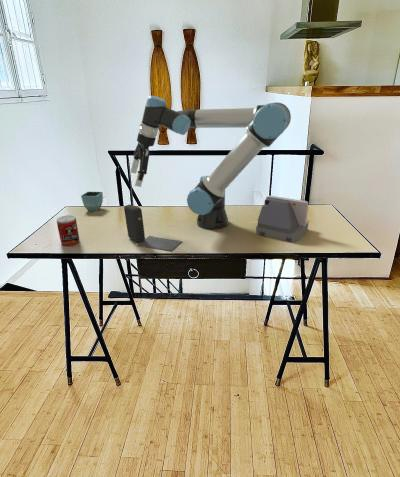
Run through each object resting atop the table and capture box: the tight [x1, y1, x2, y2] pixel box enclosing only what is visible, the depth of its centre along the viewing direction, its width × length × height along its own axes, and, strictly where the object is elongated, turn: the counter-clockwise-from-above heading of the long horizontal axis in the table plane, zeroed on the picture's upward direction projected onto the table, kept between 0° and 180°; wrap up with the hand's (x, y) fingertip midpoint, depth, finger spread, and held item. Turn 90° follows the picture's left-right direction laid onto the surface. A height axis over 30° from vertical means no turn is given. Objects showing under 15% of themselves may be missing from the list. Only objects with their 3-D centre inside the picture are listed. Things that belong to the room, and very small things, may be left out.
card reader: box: [123, 204, 146, 243], centre depth 147 cm, size 9×4×15 cm, turn 42°
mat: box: [136, 235, 183, 252], centre depth 146 cm, size 16×10×1 cm, turn 68°
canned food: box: [56, 215, 80, 247], centre depth 147 cm, size 8×8×11 cm
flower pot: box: [80, 191, 104, 212], centre depth 187 cm, size 9×9×9 cm
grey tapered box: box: [255, 195, 310, 243], centre depth 154 cm, size 21×21×15 cm
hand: (135, 179), depth 157 cm, fingers open, 13 cm apart
